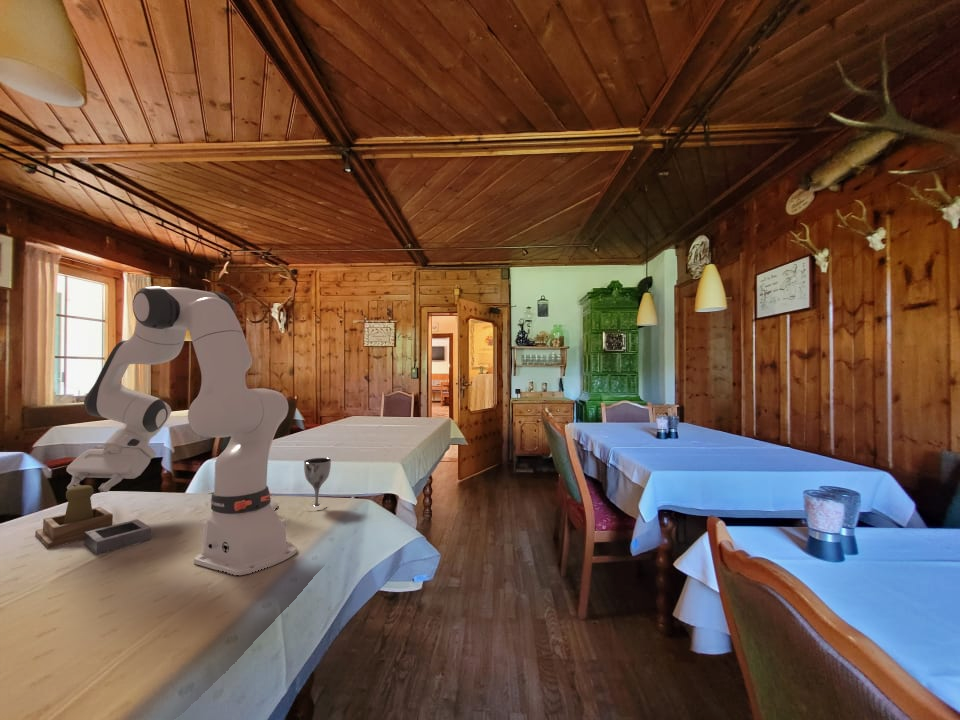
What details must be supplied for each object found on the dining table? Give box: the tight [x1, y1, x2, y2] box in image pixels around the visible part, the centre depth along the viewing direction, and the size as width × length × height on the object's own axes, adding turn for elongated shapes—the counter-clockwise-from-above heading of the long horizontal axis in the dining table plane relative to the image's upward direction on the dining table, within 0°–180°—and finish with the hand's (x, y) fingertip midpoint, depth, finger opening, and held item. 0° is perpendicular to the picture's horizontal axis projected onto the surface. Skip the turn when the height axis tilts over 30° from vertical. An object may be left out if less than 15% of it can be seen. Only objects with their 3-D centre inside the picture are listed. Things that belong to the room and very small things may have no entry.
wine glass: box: [303, 457, 332, 507], centre depth 123 cm, size 8×8×15 cm
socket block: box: [83, 519, 152, 556], centre depth 97 cm, size 10×10×3 cm
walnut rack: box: [34, 506, 117, 549], centre depth 103 cm, size 14×13×4 cm
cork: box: [63, 484, 95, 524], centre depth 103 cm, size 6×6×11 cm
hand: (86, 490), depth 104 cm, fingers open, 8 cm apart
